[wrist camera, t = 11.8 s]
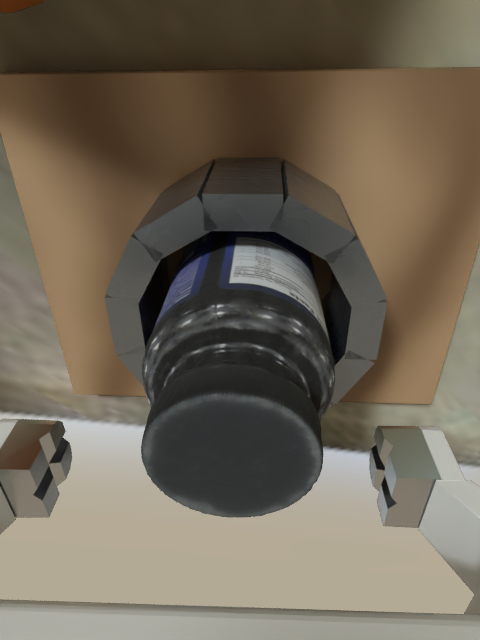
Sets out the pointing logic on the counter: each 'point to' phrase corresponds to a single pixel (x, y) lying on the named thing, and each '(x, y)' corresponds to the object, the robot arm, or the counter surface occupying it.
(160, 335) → the pill bottle
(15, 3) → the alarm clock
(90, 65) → the counter surface
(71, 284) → the collar base board
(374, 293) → the rosette collar
